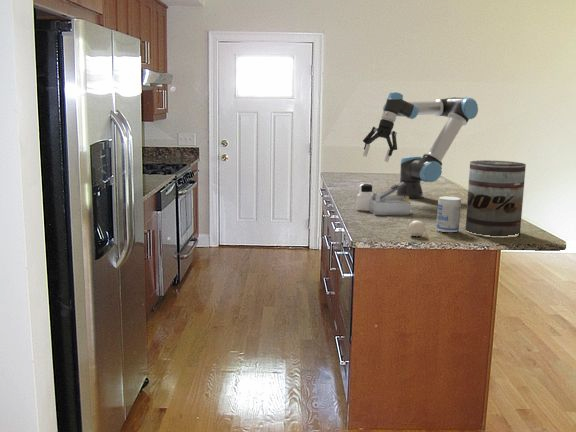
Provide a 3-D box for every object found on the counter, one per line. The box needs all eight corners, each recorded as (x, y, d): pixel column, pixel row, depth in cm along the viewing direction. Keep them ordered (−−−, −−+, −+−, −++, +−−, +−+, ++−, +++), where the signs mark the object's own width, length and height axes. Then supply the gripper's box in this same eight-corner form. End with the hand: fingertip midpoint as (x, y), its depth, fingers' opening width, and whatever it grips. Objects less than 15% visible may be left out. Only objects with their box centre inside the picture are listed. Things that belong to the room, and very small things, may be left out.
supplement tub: (432, 231, 279) (434, 197, 277) (442, 228, 286) (444, 195, 284) (452, 234, 273) (455, 200, 270) (462, 231, 280) (465, 197, 278)
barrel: (455, 231, 280) (459, 162, 274) (482, 225, 295) (487, 159, 289) (503, 240, 264) (509, 167, 258) (529, 233, 279) (535, 163, 273)
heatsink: (403, 211, 328) (404, 192, 326) (409, 214, 318) (410, 195, 317) (369, 211, 326) (369, 192, 324) (374, 214, 316) (375, 195, 314)
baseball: (406, 237, 267) (407, 221, 266) (409, 234, 273) (410, 218, 272) (422, 239, 264) (423, 222, 263) (425, 235, 271) (426, 219, 270)
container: (373, 208, 334) (374, 183, 331) (371, 211, 326) (372, 185, 324) (359, 207, 336) (359, 182, 333) (355, 210, 329) (356, 184, 326)
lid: (403, 183, 322) (401, 180, 322) (405, 184, 318) (404, 181, 318) (375, 199, 322) (374, 196, 322) (377, 201, 318) (376, 197, 318)
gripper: (364, 114, 348) (352, 152, 349) (405, 122, 334) (392, 162, 334) (371, 118, 354) (359, 155, 355) (411, 126, 340) (398, 165, 340)
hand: (375, 158), depth 345 cm, fingers open, 13 cm apart
